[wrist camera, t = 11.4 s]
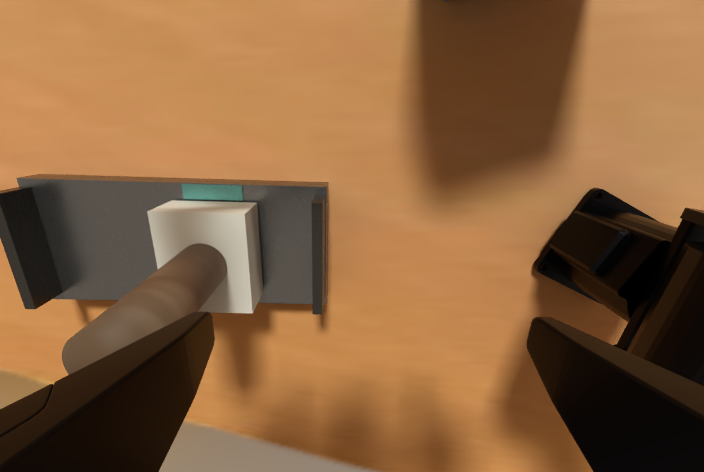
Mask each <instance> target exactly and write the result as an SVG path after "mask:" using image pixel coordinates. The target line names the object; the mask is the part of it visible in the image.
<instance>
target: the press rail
mask: <svg viewBox="0 0 704 472" xmlns="http://www.w3.org/2000/svg"><path fill="white" fill-rule="evenodd" d="M17 181H18V184H19V187H17V188H12V189H7V190H2V191H0V238H1V241H2V244H3V247H4V249H5V252H6V255H7V258H8V261H9V264H10V267H11V269H12V272H13V275H14V278H15V281H16V284H17V287H18V289H19V292H20V295H21V298H22V301H23V304H24V307H25V309H37V308H38V307H40V306H42V305H43V304H45V303H46V302H48V301H50V300H51V299H53V298H54V299H80V300H120V299H121V298H122V297H124V296H125V295H126V294H127V293H129V292H130V291H131V290H133V289H134V288H135V287H136V286H138V285H139V284H140V283H141V282H143V281H144V280H145V279H147V278H148V277H149V276H150V275H152V274H153V273H154V272H156V271H157V270H158V268H157V262H156V257H155V251H154V246H153V240H152V235H151V230H150V224H149V219H148V213H147V211H149V210H151V209H154V208H156V207H158V206H160V205H163V204H165V203H167V202H169V201H172V200H176V201H213V202H250V203H257V208H258V223H259V238H260V253H261V268H262V282H263V293H262V296H261V298H260V300H259V302H258V303H287V304H313V314H323V306H324V304H326V300H327V260H328V183H327V182H293V181H258V180H224V179H189V178H154V177H120V176H85V175H50V174H38V175H32V176H26V177H20V178H17Z"/></svg>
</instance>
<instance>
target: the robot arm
mask: <svg viewBox="0 0 704 472" xmlns="http://www.w3.org/2000/svg"><path fill="white" fill-rule="evenodd" d="M597 193H598V196H597V198H596V199H595V198H594V197H595V195H596V194H597ZM680 218H681V219H682V221H681V223H680V225H679V227H678V228H676V227H673V226H670V225H667V224H664V223H661V222H658V221H657V220H655V219H653V218H651V217H650V216H648V215H646V214H645V213H643V212H641V211H639V210H638V209H636V208H634V207H632V206H631V205H629V204H627V203H626V202H624V201H622V200H620V199H619V198H617V197H615V196H614V195H612V194H610V193H608V192H607V191H605V190H603V189H599V188H593V189H591V190H590V191H589V192H588V193H587V194H586V195H585V197H584V198H583V199H582V201H581V202H580V203H579V205H578V206H577V207H576V209H575V210H574V211H573V213H572V214H571V215H570V217H569V218H568V219H567V221H566V222H565V223H564V225H563V226H562V227H561V229H560V230H559V231H558V233H557V234H556V235H555V237H554V238H553V239H552V241H551V242H550V243H549V245H548V246H547V247H546V249H545V250H544V251H543V253H542V254H541V255H540V257H539V258H538V259H537V261H536V262H535V264H534V267H535V269H536V270H537V271H538V272H540V273H541V274H543V275H545V276H547V277H549V278H551V279H553V280H555V281H557V282H559V283H561V284H563V285H565V286H567V287H569V288H571V289H573V290H575V291H577V292H579V293H581V294H583V295H585V296H587V297H589V298H591V299H593V300H595V301H597V302H599V303H601V304H603V305H604V306H606V307H607V308H609V309H610V310H611V311H613V312H614V313H616V314H617V315H618V316H620V317H621V318H623V319H624V320H626V321H627V322H628V324H627V326H626V328H625V330H624V332H623V334H622V335H621V337H620V339H619V341H618V343H617V345H614V346H613V345H611V344H609V343H606V342H604V341H602V340H600V339H597V338H595V337H593V336H591V335H589V334H586V333H584V332H582V331H580V330H577V329H575V328H573V327H571V326H568V325H566V324H564V323H562V322H560V321H557V320H555V319H553V318H550V317H535V318H534V319H533V320H532V323H531V326H530V330H529V334H528V338H527V349H528V352H529V354H530V356H531V358H532V360H533V362H534V364H535V367H536V369H537V371H538V373H539V375H540V377H541V379H542V382H543V384H544V386H545V388H546V390H547V392H548V394H549V396H550V398H551V400H552V402H553V404H554V406H555V407H556V409H557V411H558V413H559V414H560V416H561V418H562V419H563V421H564V423H565V424H566V426H567V428H568V429H569V431H570V433H571V435H572V436H573V438H574V440H575V441H576V443H577V445H578V446H579V448H580V450H581V451H582V453H583V455H584V457H585V458H586V460H587V462H588V463H589V465H590V467H591V468H592V470H593V472H704V211H703V210H697V209H691V208H685V210H684V211H683V213H682V215H681V217H680ZM543 264H545V266H544V267H543V268H541V266H542V265H543ZM214 340H215V337H214V329H213V321H212V316H211V313H210V312H204V311H195V312H192V313H190V314H188V315H186V316H184V317H182V318H180V319H178V320H177V321H175V322H173V323H171V324H169V325H167V326H165V327H163V328H161V329H159V330H157V331H155V332H153V333H151V334H149V335H147V336H145V337H143V338H141V339H139V340H137V341H135V342H133V343H131V344H129V345H127V346H125V347H123V348H121V349H119V350H117V351H115V352H113V353H111V354H109V355H107V356H105V357H104V358H102V359H100V360H98V361H96V362H94V363H92V364H90V365H88V366H86V367H84V368H82V369H80V370H78V371H76V372H74V373H72V374H70V375H68V376H66V377H64V378H62V379H60V380H58V381H56V382H55V383H54V385H53V384H50V385H48V386H46V387H44V388H42V389H40V390H38V391H36V392H34V393H33V394H31V395H28V396H26V397H24V398H22V399H20V400H18V401H16V402H14V403H12V404H10V405H8V406H6V407H4V408H2V409H0V472H158V471H159V469H160V467H161V465H162V463H163V461H164V459H165V457H166V455H167V453H168V451H169V449H170V447H171V445H172V443H173V441H174V439H175V437H176V435H177V433H178V431H179V429H180V427H181V425H182V423H183V421H184V418H185V416H186V414H187V412H188V410H189V408H190V406H191V404H192V402H193V400H194V398H195V395H196V393H197V390H198V387H199V385H200V382H201V379H202V376H203V374H204V371H205V368H206V365H207V362H208V360H209V357H210V354H211V351H212V349H213V346H214Z"/></svg>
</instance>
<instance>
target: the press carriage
mask: <svg viewBox="0 0 704 472" xmlns="http://www.w3.org/2000/svg"><path fill="white" fill-rule="evenodd" d="M147 213H148V219H149V224H150V230H151V235H152V240H153V246H154V251H155V257H156V262H157V268H158V270H157V271H156V272H154V273H153V274H152V275H150V276H149V277H148V278H147V279H145V280H144V281H143V282H141V283H140V284H139V285H138V286H136V287H135V288H134V289H133V290H131V291H130V292H129V293H127V294H126V295H125V296H124V297H122V298H121V299H120V300H118V301H117V302H116V303H115V304H113V305H112V306H111V307H110V308H108V309H107V310H106V311H104V312H103V313H102V314H101V315H99V316H98V317H97V318H96V319H94V320H93V321H92V322H90V323H89V324H88V325H87V326H85V327H84V328H83V329H81V330H80V331H79V332H78V333H76V334H75V335H74V336H73V337H71V338H70V339H69V340H68V341H67V342H66V344H65V346H64V348H63V351H62V360H63V364H64V367H65V369H66V371H67V372H68V374H69V375H70V374H72V373H74V372H76V371H78V370H80V369H82V368H84V367H86V366H88V365H90V364H92V363H94V362H96V361H98V360H100V359H102V358H104V357H105V356H107V355H109V354H111V353H113V352H115V351H117V350H119V349H121V348H123V347H125V346H127V345H129V344H131V343H133V342H135V341H137V340H139V339H141V338H143V337H145V336H147V335H149V334H151V333H153V332H155V331H157V330H159V329H161V328H163V327H165V326H167V325H169V324H171V323H173V322H175V321H177V320H178V319H180V318H182V317H184V316H186V315H188V314H190V313H192V312H195V311H204V312H210V313H253V312H254V310H255V308H256V306H257V304H258V302H259V300H260V298H261V296H262V293H263V282H262V268H261V253H260V238H259V223H258V208H257V203H250V202H213V201H176V200H172V201H169V202H167V203H165V204H163V205H160V206H158V207H156V208H154V209H151V210H149V211H147Z"/></svg>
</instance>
